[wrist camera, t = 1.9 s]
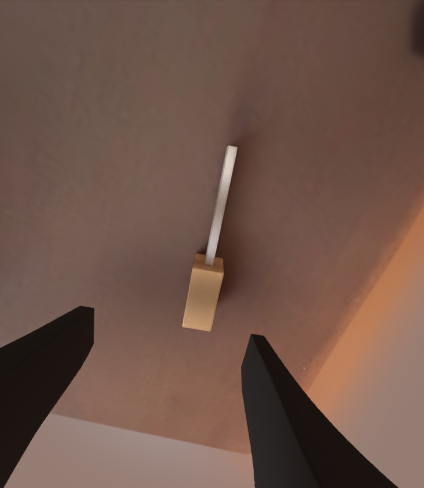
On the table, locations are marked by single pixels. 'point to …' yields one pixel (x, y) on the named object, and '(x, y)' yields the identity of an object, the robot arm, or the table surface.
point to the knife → (209, 261)
